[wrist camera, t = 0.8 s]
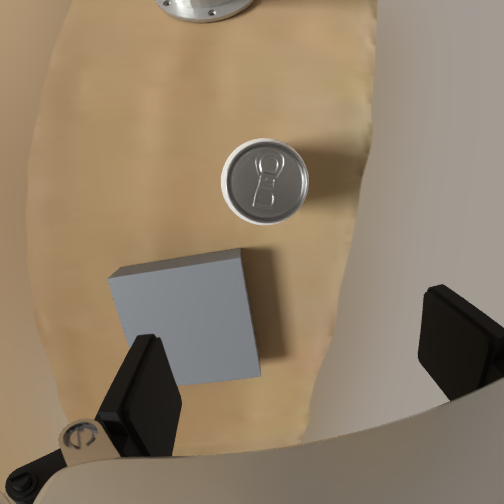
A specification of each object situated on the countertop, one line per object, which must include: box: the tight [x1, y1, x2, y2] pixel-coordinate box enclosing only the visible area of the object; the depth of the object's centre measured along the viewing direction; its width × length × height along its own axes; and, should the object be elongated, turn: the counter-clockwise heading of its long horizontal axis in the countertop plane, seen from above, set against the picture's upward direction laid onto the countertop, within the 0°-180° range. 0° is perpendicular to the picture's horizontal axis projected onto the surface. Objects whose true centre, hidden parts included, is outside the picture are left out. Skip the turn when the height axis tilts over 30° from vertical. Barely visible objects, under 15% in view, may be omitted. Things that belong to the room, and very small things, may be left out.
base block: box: [108, 248, 261, 385], centre depth 34 cm, size 14×14×4 cm
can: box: [221, 138, 309, 225], centre depth 27 cm, size 6×6×12 cm
